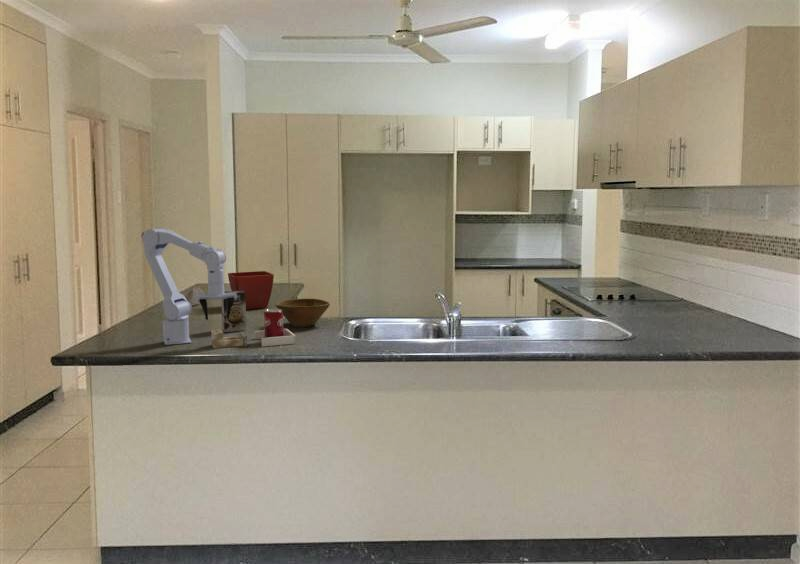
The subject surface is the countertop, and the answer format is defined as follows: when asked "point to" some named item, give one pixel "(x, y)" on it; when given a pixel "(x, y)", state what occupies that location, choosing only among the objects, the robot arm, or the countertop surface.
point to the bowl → (303, 310)
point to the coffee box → (234, 313)
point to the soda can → (273, 323)
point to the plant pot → (253, 287)
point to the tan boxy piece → (227, 339)
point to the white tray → (276, 338)
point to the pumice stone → (193, 295)
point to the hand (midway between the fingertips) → (217, 318)
